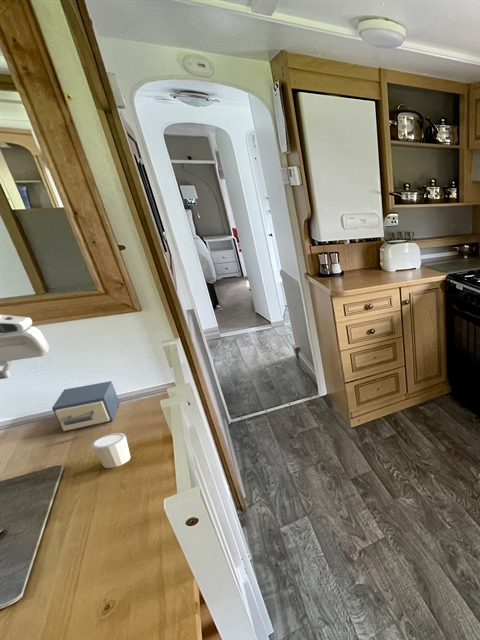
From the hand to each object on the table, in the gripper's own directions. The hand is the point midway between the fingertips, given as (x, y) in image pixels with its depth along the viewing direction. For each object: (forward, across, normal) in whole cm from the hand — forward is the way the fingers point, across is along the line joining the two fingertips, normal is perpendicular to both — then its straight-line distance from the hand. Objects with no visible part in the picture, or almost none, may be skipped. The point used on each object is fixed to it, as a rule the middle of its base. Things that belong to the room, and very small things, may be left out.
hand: (1, 378), depth 95 cm
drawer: (+23, +8, +15) cm, 29 cm away
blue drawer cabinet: (+24, +8, +19) cm, 32 cm away
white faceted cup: (+24, +18, -14) cm, 33 cm away
